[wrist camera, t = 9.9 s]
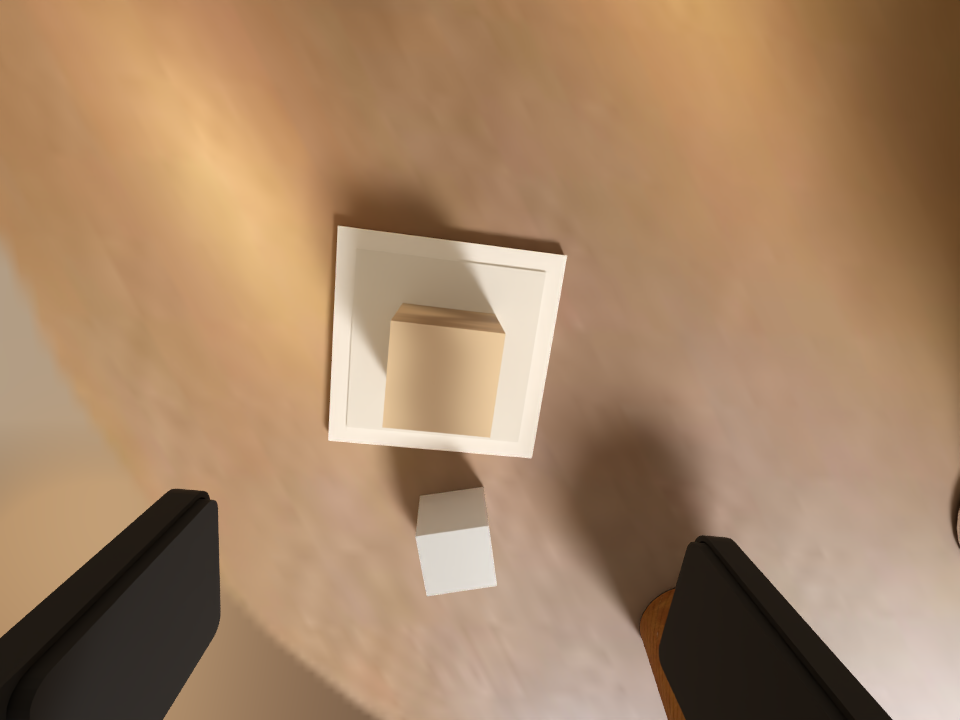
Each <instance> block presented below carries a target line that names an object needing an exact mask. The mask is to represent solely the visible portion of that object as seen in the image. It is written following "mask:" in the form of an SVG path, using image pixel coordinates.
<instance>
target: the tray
mask: <svg viewBox="0 0 960 720" xmlns="http://www.w3.org/2000/svg"><path fill="white" fill-rule="evenodd" d="M566 259H567V256H566V255H559V254H552V253H544V252H536V251H529V250H521V249H513V248H506V247H498V246H491V245H483V244H475V243H468V242H460V241H452V240H445V239H437V238H429V237H422V236H414V235H407V234H399V233H391V232H384V231H376V230H368V229H361V228H353V227H346V226H338V233H337V255H336V278H335V301H334V324H333V346H332V369H331V392H330V415H329V437H328V441H340V442H351V443H363V444H374V445H386V446H397V447H409V448H420V449H432V450H443V451H455V452H466V453H477V454H489V455H500V456H512V457H523V458H532V454H533V448H534V443H535V437H536V431H537V426H538V420H539V414H540V408H541V403H542V397H543V391H544V385H545V380H546V374H547V368H548V362H549V357H550V351H551V345H552V339H553V334H554V328H555V322H556V316H557V311H558V305H559V299H560V293H561V288H562V282H563V276H564V271H565V265H566ZM402 303H407V304H416V305H424V306H432V307H441V308H449V309H457V310H466V311H474V312H482V313H491V314H495V315H496V317H497V319H498V321H499V322H500V324H501V326H502V328H503V330H504V332H505V334H506V335H505V341H504V348H503V355H502V362H501V368H500V375H499V382H498V388H497V395H496V402H495V408H494V415H493V422H492V428H491V435H490V438H489V437H478V436H468V435H457V434H446V433H436V432H425V431H414V430H404V429H393V428H382V424H383V412H384V400H385V387H386V375H387V363H388V350H389V338H390V326H391V320H392V318H393V317H394V315H395V314H396V312H397V311H398V309H399V308H400V306H401V305H402Z"/></svg>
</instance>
